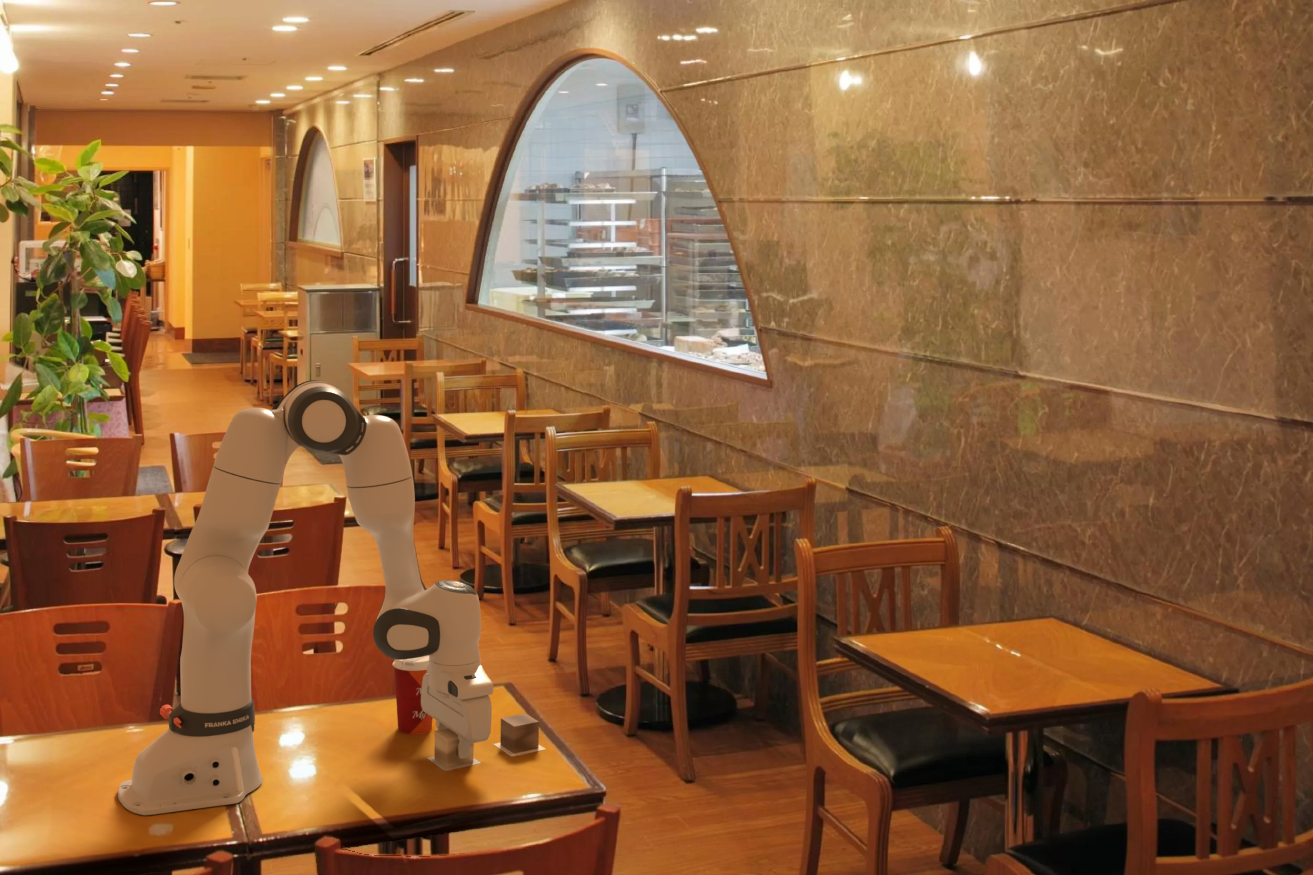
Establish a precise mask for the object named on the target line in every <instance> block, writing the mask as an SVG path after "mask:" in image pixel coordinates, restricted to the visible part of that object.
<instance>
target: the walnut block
mask: <svg viewBox="0 0 1313 875" xmlns="http://www.w3.org/2000/svg"><path fill="white" fill-rule="evenodd" d="M539 728H540V721H539V720H537V719H535V718H534V717H532V716H530V715H529V714H527V713H521V714H515V715H511V716H504V717H500V741H499V743H500V745H501V746H503V747H505V748H506V749H508V750H509V751H511V752H512V753H514V754H515V753H519V752H524V751H529V750H533V749H538V746H539V745H540V744H539V741H540V738H539V737H540V736H539V734H540V729H539Z"/></svg>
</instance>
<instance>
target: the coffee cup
mask: <svg viewBox="0 0 1313 875" xmlns="http://www.w3.org/2000/svg"><path fill="white" fill-rule="evenodd" d="M428 665H429V655H427V656H423V657H418V658H412V659H403V660H397V659H394V661H393V662H392V667H394V679H395V697H396V698H395V699H396V700H395V701H396V715H397V718H396V719H397V730H398V731H399V733H402V734H406V735H422V734H426V733H428V732H430V731H431V730H432V727H433V719H434V718H433V717H431V716H430V715H428V714H427V713H425V712H424V711H423V710H422V707H421V690H422V680H423V676H424V675H425V674H426V673H427V666H428Z"/></svg>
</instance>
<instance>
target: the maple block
mask: <svg viewBox="0 0 1313 875" xmlns="http://www.w3.org/2000/svg"><path fill="white" fill-rule="evenodd" d="M459 742H460V740H459V739H458V734H456V733H455V732H453V731H452V730H450V729H449V728H447V729H442V730H437V729H436V730H434V758H435V759H436V760H437V761H439V762H440V763H441V764H443V765H444V766H446V767H447V768H449V767H453V766H458V765H463V764H467V763H472V762H473V758H474V753H475V752H474V746H475V743H471V745H470V747H469V756H468V757H467V758H463V759H461V758H459V757H458V756H457V755H456V747H457V746H458V745H459Z"/></svg>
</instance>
